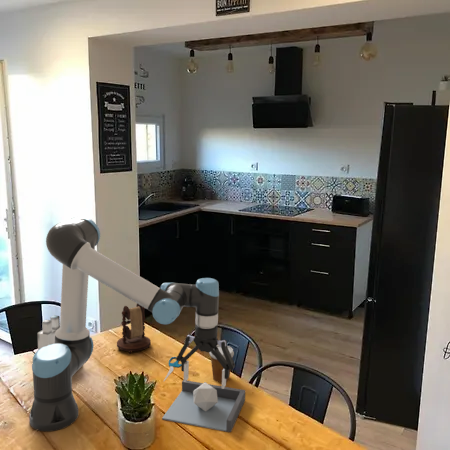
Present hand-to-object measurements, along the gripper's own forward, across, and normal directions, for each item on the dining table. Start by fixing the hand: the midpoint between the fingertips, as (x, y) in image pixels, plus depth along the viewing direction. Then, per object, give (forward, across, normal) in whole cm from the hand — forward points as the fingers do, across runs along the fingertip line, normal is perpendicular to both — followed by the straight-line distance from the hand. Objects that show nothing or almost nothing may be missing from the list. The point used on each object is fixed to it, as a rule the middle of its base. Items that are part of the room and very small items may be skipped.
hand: (204, 383), depth 158 cm
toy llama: (+10, +63, -11) cm, 65 cm away
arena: (+9, -1, +1) cm, 9 cm away
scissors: (+10, +21, -23) cm, 33 cm away
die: (+9, 0, 0) cm, 9 cm away
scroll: (+10, +45, -37) cm, 59 cm away
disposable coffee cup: (+9, 0, -22) cm, 24 cm away
